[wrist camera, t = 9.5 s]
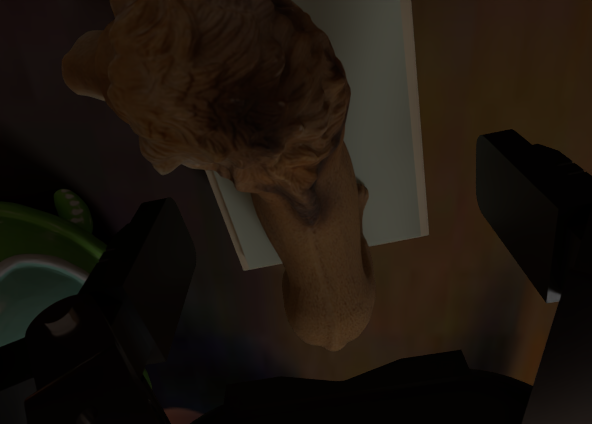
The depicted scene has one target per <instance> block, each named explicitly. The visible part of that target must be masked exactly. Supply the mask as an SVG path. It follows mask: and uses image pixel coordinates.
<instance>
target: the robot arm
mask: <svg viewBox="0 0 592 424" xmlns="http://www.w3.org/2000/svg"><path fill="white" fill-rule="evenodd" d="M476 195H477V201H478V205H479V208H480V210H481V212H482V214H483V216H484V217H485V218H486V220H487V221H488V222H489V224H490V225H491V227H492V228H493V229H494V231H495V232H496V234H497V235H498V236H499V238H500V239H501V241H502V242H503V243H504V245H505V246H506V248H507V249H508V250H509V252H510V253H511V255H512V256H513V257H514V259H515V260H516V261H517V263H518V264H519V266H520V267H521V268H522V270H523V271H524V273H525V274H526V275H527V277H528V278H529V280H530V281H531V282H532V284H533V285H534V287H535V288H536V289H537V291H538V292H539V294H540V295H541V296H542V298H543V299H544V300H545V302H546V303H550V302H556V301H559V303H558V307H557V310H556V313H555V316H554V320H553V323H552V326H551V329H550V333H549V336H548V339H547V342H546V346H545V349H544V352H543V355H542V359H541V362H540V365H539V368H538V372H537V375H536V378H535V382H534V385H533V386H531V385H529V384H527V383H525V382H522V381H519V380H517V379H514V378H512V377H508V376H505V375H501V374H498V373H494V372H489V371H483V370H477V369H469V367H468V365H467V363H466V360H465V358H464V355H463V353H462V351H461V350H456V351H450V352H443V353H436V354H430V355H423V356H416V357H409V358H403V359H399V360H396V361H394V362H391V363H389V364H386V365H384V366H381V367H379V368H376V369H373V370H371V371H368V372H366V373H363V374H361V375H358V376H356V377H353V378H350V379H348V380H345V381H327V380H315V379H304V378H293V377H275V378H268V379H261V380H255V381H248V382H241V383H234V384H228V385H226V391H225V398H224V404H223V405H221V406H219V407H217V408H215V409H213V410H211V411H209V412H207V413H205V414H204V415H202V416H201V417H199V418H198V419H196V420H194V421H193V422H192V423H190V424H592V176H591V175H590V174H589V173H587V172H584V171H583V169H582V168H581V167H579V166H578V165H577V164H575V163H572V161H571V160H570V159H569V158H567V157H566V156H565V155H563V154H562V153H561V152H560V151H558V150H555V149H552V148H549V147H546V146H543V145H540V144H534V145H532V144H530V143H529V142H528V141H527V140H526V139H524V138H523V137H522V136H521V135H519V134H518V133H517V132H516V131H514V130H513V129H510V130H505V131H500V132H495V133H490V134H485V135H480V136H479V137H478V139H477V145H476ZM105 250H106V252H103V254H102V255H101V257H100V259H99V262H98V263H96V265H95V267H94V268H93V270H92V271H91V273H90V275H89V276H88V278H87V279H86V281H85V283H84V284H83V286H82V288H81V289H80V291H79V292H78V294H77V295H72V296H69V297H66V298H63V299H61V300H59V301H57V302H55V303H53V304H52V305H50V306H49V307H47V308H46V309H44V310H43V311H42V312H41V313H39V314H38V315H37V316H36V317H35V318H34V320H33V321H32V322H31V323H30V325H29V326H28V328H27V330H26V333H25V337H24V338H22V339H19V340H17V341H14V342H11V343H9V344H6V345H4V346H1V347H0V424H171V423H170V421H169V419H168V417H167V416H166V414H165V412H164V410H163V408H162V407H161V405H160V403H159V401H158V399H157V398H156V396H155V394H154V392H153V390H152V388H151V387H150V385H149V383H148V381H147V380H146V378H145V377H144V375H143V372H144V369H145V366H146V364H153V363H159V362H165V361H166V360H167V357H168V354H169V351H170V347H171V344H172V341H173V337H174V334H175V331H176V328H177V324H178V321H179V318H180V315H181V311H182V308H183V305H184V302H185V298H186V295H187V292H188V288H189V285H190V282H191V279H192V275H193V272H194V269H195V265H196V252H195V247H194V244H193V241H192V239H191V237H190V234H189V232H188V230H187V227H186V225H185V223H184V221H183V218H182V216H181V214H180V211H179V209H178V207H177V205H176V203H175V201H174V200H173V199H172V198H164V199H159V200H154V201H149V202H144V203H142V204H141V205H140V207H139V209H138V210H137V212H136V214H135V215H134V217H133V219H132V220H131V222H130V223H129V224H127V225H126V226H125V227H123V228H122V229H121V230H120V231H119V232H118V233H117V234H116V235H114V236H113V238H112V239H111V241H110V243H109V244H108V246H107V247H106V249H105Z"/></svg>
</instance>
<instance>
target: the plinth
mask: <svg viewBox="0 0 592 424" xmlns="http://www.w3.org/2000/svg"><path fill="white" fill-rule="evenodd" d="M292 1H293V2H294V3H295V4H296V5H298V6H299V7H300V8H301V9H302V10H303V12H306V13H308V14H309V15H310V17H311V20H312V22H313V23H314V24H315V25H316V26H317V27H318V28H319V29H321V30H322V31H324V32H325V33H326V35H327V36H328V38H329V40H330V42H331V45H332V47H333V49H334V52H335V55H336V57H337V58H338V59H339V60H340V61H341V63H342V65H343V67H344V70H345V73H346V78H347V81H348V84H349V86H350V89H351V97H350V103H349V109H348V114H347V119H346V123H345V134H344V139H343V140H344V142H345V144H346V147H347V149H348V152H349V154H350V158H351V161H352V165H353V169H354V173H355V177H356V183H361V184H363V185H364V186H365V187H366V188H367V189H368V192H369V198H368V201H367V203H366V206H365V208H364V211H363V218H362V228H363V235H364V237H365V239H366V241H367V243H368V246H375V245H380V244H385V243H390V242H395V241H400V240H406V239H411V238H416V237H421V236H426V235H429V228H428V215H427V202H426V189H425V176H424V163H423V150H422V137H421V124H420V111H419V98H418V85H417V72H416V59H415V46H414V33H413V20H412V7H411V0H292ZM205 171H206V174H207V176H208V179H209V181H210V184H211V187H212V189H213V192H214V195H215V197H216V200H217V202H218V205H219V208H220V210H221V213H222V215H223V218H224V221H225V223H226V226H227V228H228V231H229V234H230V236H231V239H232V242H233V244H234V247H235V249H236V252H237V255H238V257H239V260H240V262H241V265H242V268H243V270H244V271H245V270H251V269H256V268H261V267H266V266H271V265H276V264H282V261H281V259H280V258H279V256H278V254H277V252H276V251H275V249H274V247H273V246H272V244H271V242H270V241H269V239H268V237H267V235H266V233H265V231H264V229H263V227H262V225H261V222H260V220H259V218H258V216H257V214H256V211H255V208H254V205H253V201H252V197H251V193H248V192H241V191H238V190H236V188H235V187H234V184H233V182H232V181H231V180H229V179H226V178H223V177H221V176H220V175H219V174H218V173H217V172H216V171H209V170H205Z"/></svg>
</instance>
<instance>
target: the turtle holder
mask: <svg viewBox="0 0 592 424" xmlns="http://www.w3.org/2000/svg"><path fill="white" fill-rule="evenodd" d="M54 203H55V207H56V210H57V213H58V215H59V217H58V216H56V215H53V214H50V213H47V212H44V211H41V210H37V209H34V208H31V207H28V206H24V205H21V204H17V203H12V202H3V201H0V347H1V346H4V345H6V344H9V343H11V342H14V341H17V340H19V339H22V338H24V337H25V333H26V330H27V328H28V326H29V325H30V323H31V322H32V321H33V320H34V318H35V317H36V316H37V315H38V314H39V313H41V312H42V311H43V310H44V309H46V308H47V307H49V306H50V305H52V304H53V303H55V302H57V301H59V300H61V299H63V298H66V297H69V296H72V295H77V294H78V292H79V291H80V289H81V288H82V286H83V284H84V283H85V281H86V279H87V278H88V276H89V275H90V273H91V271H92V270H93V268H94V267H95V265H96V263H98V262H99V259H100V257H101V255H102V254H103V252H106V250H105V249H106V247H107V245H106V244H105V243H103V242H102V241H101V240H99V239H98V238H96V237H95V236H93V235H92V231H93V220H92V217H91V213H90V210H89V208H88V206H87V205H86V204H85V202H84V201H83V200H82V199H81V198H80V197H79V196H78V195H77V194H76V193H74V192H72V191H70V190H68V189H59V190H58V191H56V192H55V193H54ZM143 375H144V377H145V378H146V380H147V381H148V383H149V385H150V387H151V388H152V386H151V382H150V379H149V376H148V373H147V371H146V370H145V369H144V372H143Z"/></svg>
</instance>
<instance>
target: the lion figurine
mask: <svg viewBox="0 0 592 424" xmlns="http://www.w3.org/2000/svg"><path fill="white" fill-rule="evenodd" d="M110 4H111V8H112V10H113V13H114V16H115V20H113V21H112V22H110V23H109V24H108V25H107V26H106V28H105V30H104V31H102V30H96V31H89V32H86V33H85V34H84V35H82V36H81V37H80V38H79V39H78V40H77V41H76V43H75V44H74V46H73V47H72V49H71V50H70V51H69V52H68V53H67V54H66V55H65V56H64V58H63V60H62V75H63V79H64V81H65V83H66V85H67V86H68V87H69V88H70V89H71V90H73V91H74V92H75V93H77V94H78V95H86V96H91V97H94V98H97V99H100V100H103V101H106V103H107V104H108V105H109V107H110V108H111V109H112V110H113V111H114V112H115V113H116V114H117V115H118V117H120V118H121V119H122V120H123V121H124V122H126V123H129V124H130V126H131V128H132V130H133V131H134V132H135V133H136V134H138V135H139V144H140V151H141V153H142V155H143V156H144V157H145V158H146V159H147V160H148V161H150V162H151V163H152V165H153V167H154V168H155V169H156V170H157V171H158V172H159V173H160V174H161V175H165V174H168V173H170V172H172V171H173V170H174V169H175V168H176V167H178V166H179V165H180V164H183V165H185V166H187V167H189V168H193V169H202V170H209V171H216V172H217V173H218V174H219V175H220V176H221V177H223V178H226V179H229V180H231V181H232V182H233V184H234V187H235V188H236V190H238V191H241V192H248V193H251V197H252V201H253V205H254V208H255V211H256V214H257V216H258V218H259V220H260V222H261V225H262V227H263V229H264V231H265V233H266V235H267V237H268V239H269V241H270V242H271V244H272V246H273V247H274V249H275V251H276V252H277V254H278V256H279V258H280V259H281V261H282V263H283V265H284V267H285V272H284V275H283V279H282V290H283V299H284V306H285V311H286V316H287V318H288V321H289V323H290V325H291V327H292V329H293V330H294V331H295V332H296V334H297V335H298V336H299V337H300V338H301V339H302V340H303V341H304V342H306V343H308V344H312V345H320V346H323V347H324V348H326V349H327V350H329V351H338V350H340V349H342V348H343V347H344V346H345V345H346V343H347V342H349V341H352V340H354V339H356V338H357V337H358V336H359V335H360V334H361V332H362V331H363V330H364V329H365V327H366V326H367V324H368V322H369V320H370V317H371V313H372V310H373V306H374V301H375V293H376V287H375V278H374V270H373V262H372V257H371V253H370V249H369V246H368V243H367V241H366V239H365V237H364V235H363V228H362V218H363V211H364V208H365V206H366V203H367V201H368V198H369V192H368V189H367V188H366V187H365V186H364V185H363V184H361V183H356V177H355V173H354V169H353V165H352V161H351V158H350V154H349V152H348V149H347V147H346V144H345V142H344V140H343V139H344V134H345V123H346V119H347V114H348V109H349V103H350V97H351V89H350V86H349V84H348V81H347V78H346V73H345V70H344V67H343V65H342V63H341V61H340V60H339V59H338V58H337V57H336V55H335V52H334V49H333V47H332V45H331V42H330V40H329V38H328V36H327V35H326V33H325V32H324V31H322V30H321V29H319V28H318V27H317V26H316V25H315V24H314V23H313V22H312V20H311V17H310V15H309V14H308V13H306V12H303V10H302V9H301V8H300V7H299V6H298V5H296V4H295V3H294V2H293V1H292V0H110Z"/></svg>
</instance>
